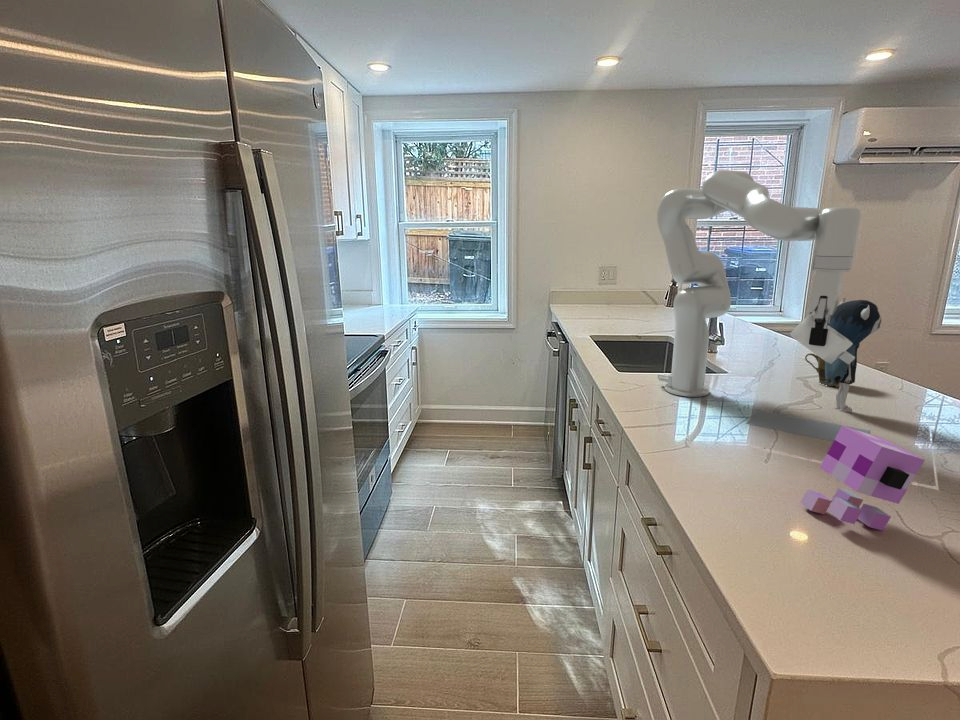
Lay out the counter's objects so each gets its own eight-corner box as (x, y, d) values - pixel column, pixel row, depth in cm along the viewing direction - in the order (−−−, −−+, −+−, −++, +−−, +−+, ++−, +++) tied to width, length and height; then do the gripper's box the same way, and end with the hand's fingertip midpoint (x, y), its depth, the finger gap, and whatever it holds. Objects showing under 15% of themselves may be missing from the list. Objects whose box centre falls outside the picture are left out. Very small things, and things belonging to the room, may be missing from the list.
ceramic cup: (849, 383, 161) (854, 352, 158) (851, 391, 152) (857, 358, 150) (801, 377, 167) (806, 348, 165) (801, 384, 159) (806, 354, 157)
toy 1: (875, 421, 127) (898, 303, 120) (828, 419, 129) (847, 302, 122) (849, 404, 140) (867, 297, 133) (806, 402, 142) (823, 296, 135)
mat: (745, 425, 125) (746, 423, 125) (757, 412, 135) (757, 409, 135) (866, 450, 110) (866, 447, 110) (869, 432, 120) (869, 430, 120)
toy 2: (795, 498, 89) (835, 422, 85) (833, 508, 90) (875, 434, 86) (841, 534, 78) (889, 450, 75) (883, 546, 80) (933, 463, 76)
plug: (788, 334, 120) (807, 314, 116) (791, 331, 123) (810, 312, 119) (840, 372, 115) (862, 352, 111) (842, 368, 118) (863, 349, 114)
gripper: (816, 262, 122) (804, 336, 126) (806, 265, 109) (793, 347, 114) (854, 263, 117) (841, 339, 122) (848, 267, 105) (833, 352, 109)
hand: (818, 342), depth 118 cm, fingers closed on plug, 4 cm apart
